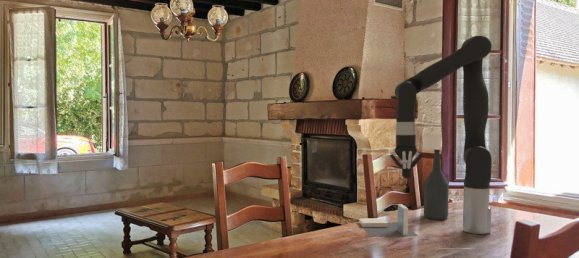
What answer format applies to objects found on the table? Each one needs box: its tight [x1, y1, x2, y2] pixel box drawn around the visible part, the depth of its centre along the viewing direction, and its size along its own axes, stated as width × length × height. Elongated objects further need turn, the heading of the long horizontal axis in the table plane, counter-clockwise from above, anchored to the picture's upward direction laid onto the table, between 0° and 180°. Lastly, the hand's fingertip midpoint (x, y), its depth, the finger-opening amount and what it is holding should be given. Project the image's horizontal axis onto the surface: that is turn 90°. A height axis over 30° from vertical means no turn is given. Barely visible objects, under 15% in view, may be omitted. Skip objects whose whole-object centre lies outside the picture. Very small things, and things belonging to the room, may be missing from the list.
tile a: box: [358, 217, 388, 228], centre depth 188 cm, size 2×8×10 cm
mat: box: [360, 221, 419, 238], centre depth 181 cm, size 18×22×1 cm
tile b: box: [397, 203, 409, 235], centre depth 176 cm, size 2×8×10 cm, turn 2°
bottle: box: [423, 149, 450, 221], centre depth 203 cm, size 10×10×30 cm
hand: (405, 178), depth 180 cm, fingers closed
